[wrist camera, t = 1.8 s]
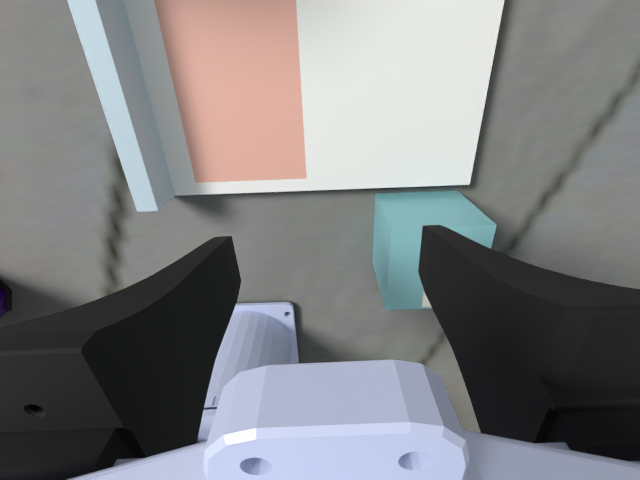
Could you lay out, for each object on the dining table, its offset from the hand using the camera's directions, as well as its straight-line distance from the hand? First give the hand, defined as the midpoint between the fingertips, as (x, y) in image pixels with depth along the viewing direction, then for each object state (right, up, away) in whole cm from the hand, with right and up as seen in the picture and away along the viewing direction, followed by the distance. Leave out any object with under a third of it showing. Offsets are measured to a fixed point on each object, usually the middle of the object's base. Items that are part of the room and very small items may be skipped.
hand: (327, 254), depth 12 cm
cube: (+6, +1, +11) cm, 13 cm away
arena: (-2, +10, +6) cm, 12 cm away
